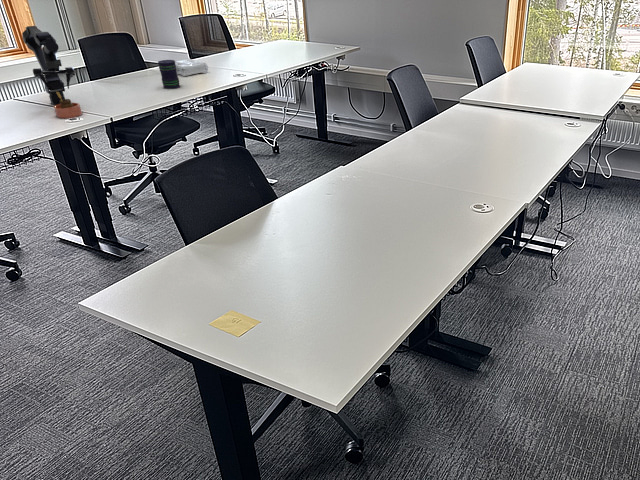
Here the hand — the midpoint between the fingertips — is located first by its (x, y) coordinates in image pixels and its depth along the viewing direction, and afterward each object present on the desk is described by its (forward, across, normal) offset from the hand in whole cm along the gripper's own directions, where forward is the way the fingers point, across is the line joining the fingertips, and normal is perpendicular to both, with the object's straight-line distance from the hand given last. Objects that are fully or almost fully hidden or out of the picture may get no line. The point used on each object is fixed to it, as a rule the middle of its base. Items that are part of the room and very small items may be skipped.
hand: (58, 89), depth 294 cm
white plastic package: (-24, +77, +70) cm, 107 cm away
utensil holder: (+14, +2, -3) cm, 14 cm away
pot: (+14, +2, -3) cm, 15 cm away
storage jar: (-6, +61, +32) cm, 69 cm away
